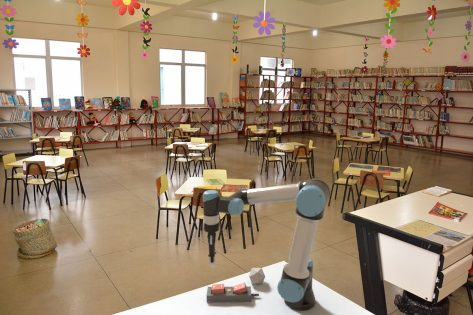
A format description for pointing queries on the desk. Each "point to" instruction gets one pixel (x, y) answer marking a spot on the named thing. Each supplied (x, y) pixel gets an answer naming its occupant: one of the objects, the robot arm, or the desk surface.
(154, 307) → the desk surface
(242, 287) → the rocker
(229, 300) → the power strip
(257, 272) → the die
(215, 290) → the rocker
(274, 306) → the desk surface
